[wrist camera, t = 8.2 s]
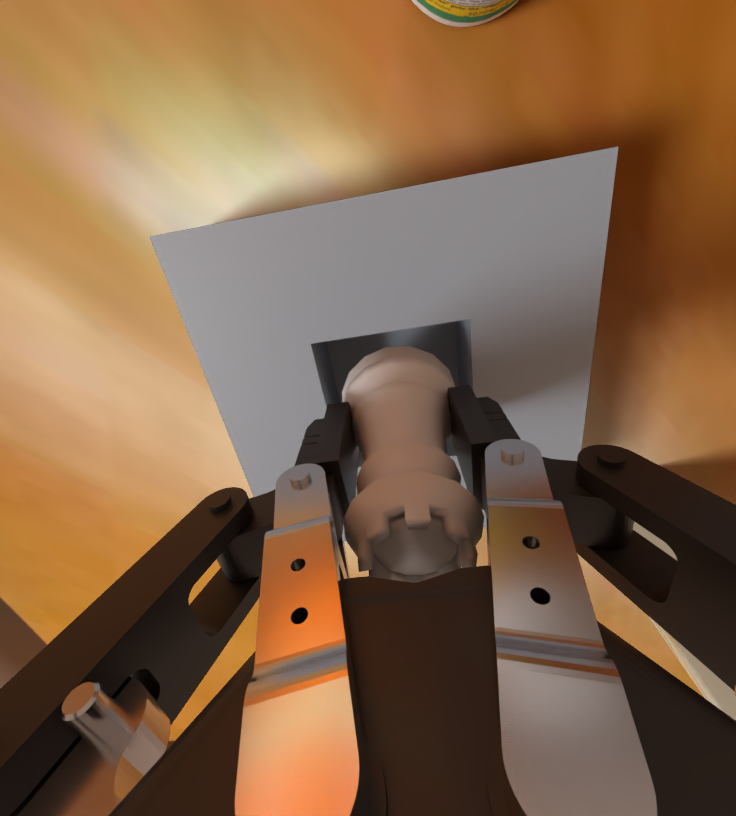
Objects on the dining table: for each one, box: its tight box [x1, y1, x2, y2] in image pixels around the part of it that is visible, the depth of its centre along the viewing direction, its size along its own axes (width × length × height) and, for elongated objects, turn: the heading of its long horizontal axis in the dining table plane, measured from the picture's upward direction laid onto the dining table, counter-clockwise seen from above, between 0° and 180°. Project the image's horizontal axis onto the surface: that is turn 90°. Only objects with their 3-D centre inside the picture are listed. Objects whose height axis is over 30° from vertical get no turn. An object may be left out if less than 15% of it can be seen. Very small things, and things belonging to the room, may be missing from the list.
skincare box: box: [633, 522, 736, 720], centre depth 17 cm, size 6×4×12 cm
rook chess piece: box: [342, 346, 484, 583], centre depth 11 cm, size 4×4×8 cm
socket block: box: [150, 146, 619, 541], centre depth 16 cm, size 14×14×4 cm
